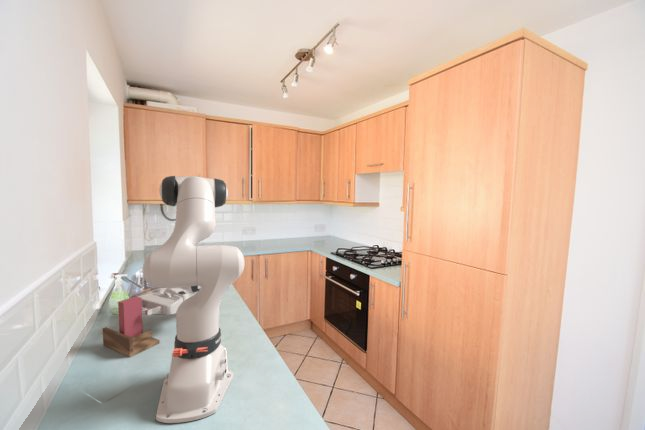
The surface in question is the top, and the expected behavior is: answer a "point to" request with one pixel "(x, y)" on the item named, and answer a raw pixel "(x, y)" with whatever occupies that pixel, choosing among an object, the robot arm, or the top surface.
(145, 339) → the book rack
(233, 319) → the top surface
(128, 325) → the red rectangular block
